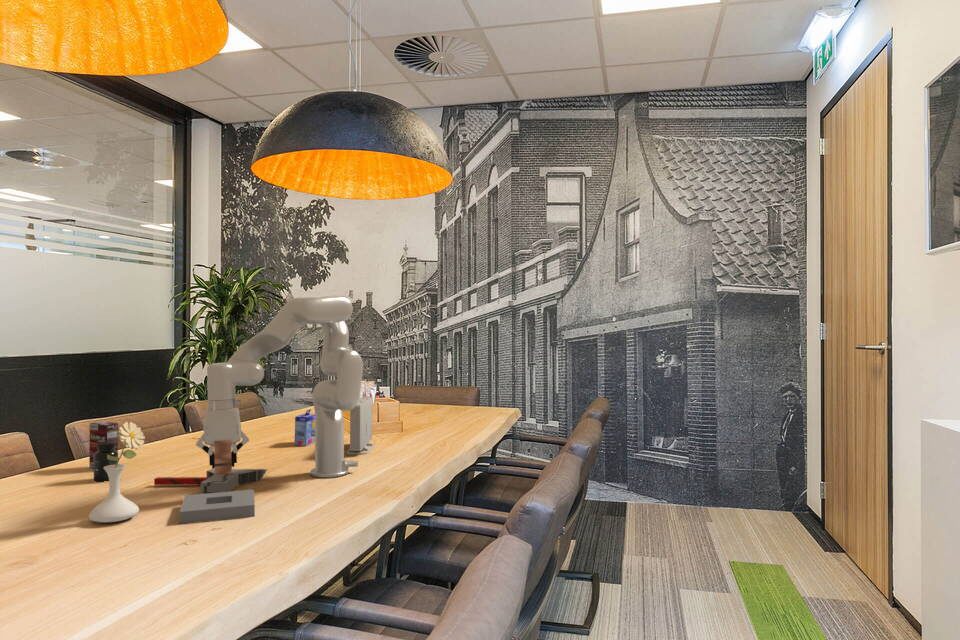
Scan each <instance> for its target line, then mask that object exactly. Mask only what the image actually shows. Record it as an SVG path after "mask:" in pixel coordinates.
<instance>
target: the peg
mask: <svg viewBox="0 0 960 640" xmlns="http://www.w3.org/2000/svg"><path fill="white" fill-rule="evenodd" d="M232 450H233V449H232V446H231V440H221V441H214V450H213V451H214V457H215V463H214V467H215V468H214V469H215V475H225V474H232V469H233V467H232V459H231V453H232Z"/></svg>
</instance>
